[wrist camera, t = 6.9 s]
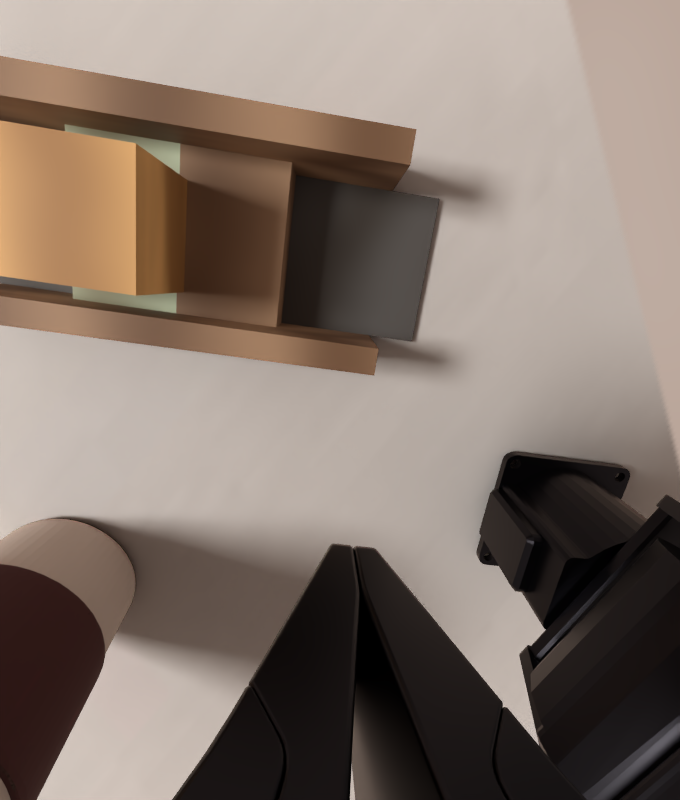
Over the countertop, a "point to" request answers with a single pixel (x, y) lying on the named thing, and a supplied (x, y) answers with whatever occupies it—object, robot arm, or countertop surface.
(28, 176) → the block
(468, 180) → the countertop surface
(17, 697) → the coffee cup
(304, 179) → the trough
